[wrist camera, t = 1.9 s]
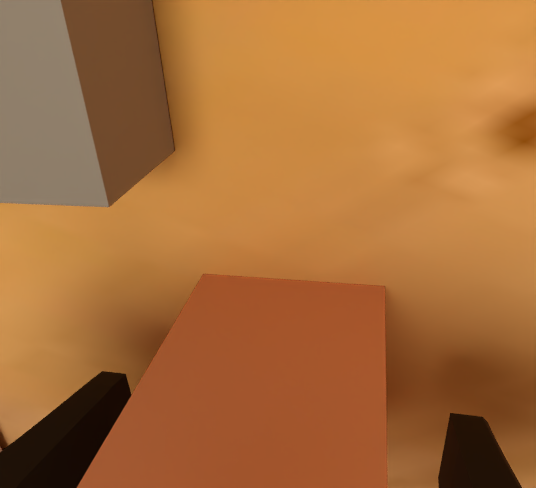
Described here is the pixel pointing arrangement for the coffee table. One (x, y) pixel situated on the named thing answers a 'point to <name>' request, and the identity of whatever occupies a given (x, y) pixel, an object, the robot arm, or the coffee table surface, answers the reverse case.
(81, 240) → the coffee table surface
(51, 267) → the coffee table surface
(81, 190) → the gray block
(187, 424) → the terracotta block
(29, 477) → the robot arm
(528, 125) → the coffee table surface
